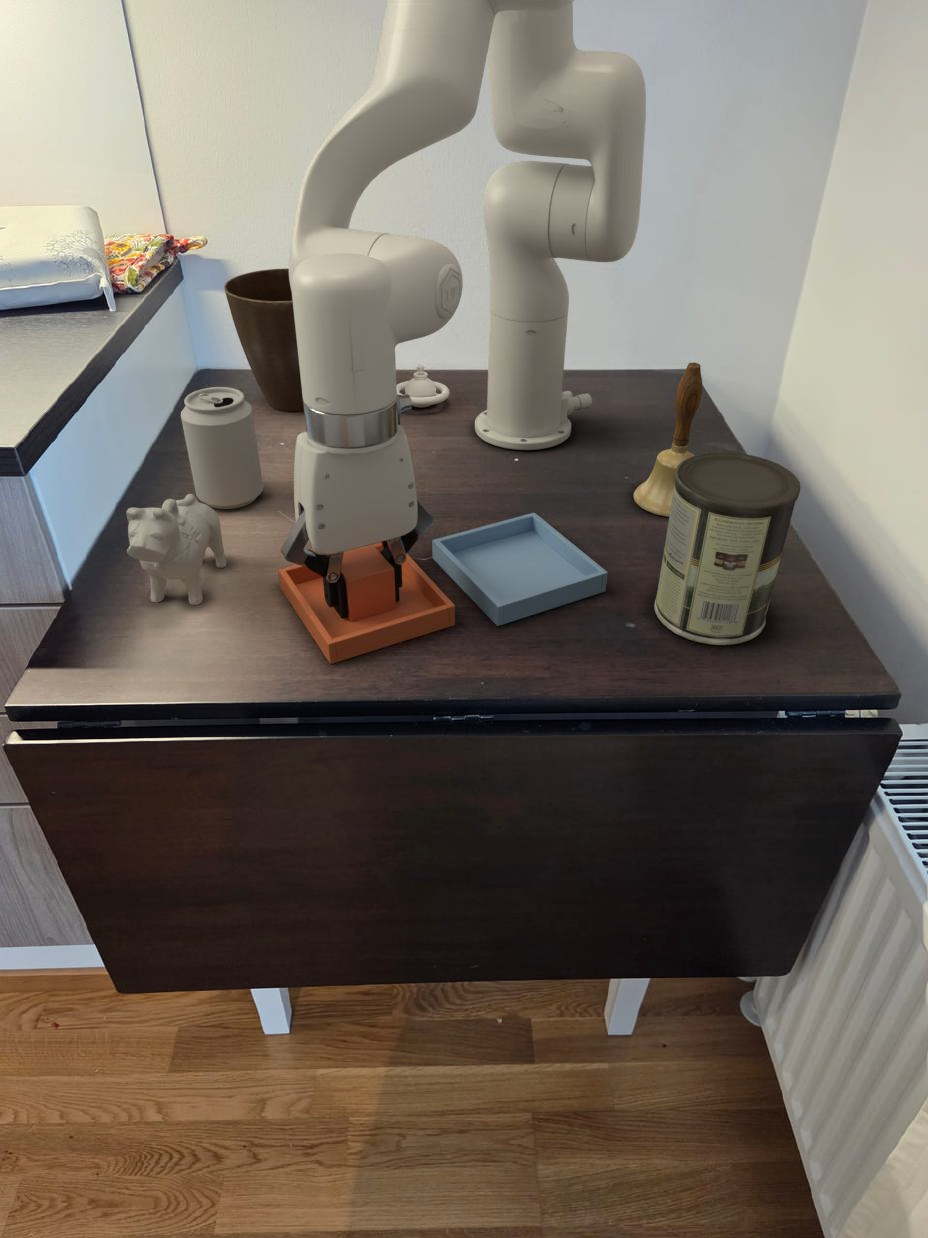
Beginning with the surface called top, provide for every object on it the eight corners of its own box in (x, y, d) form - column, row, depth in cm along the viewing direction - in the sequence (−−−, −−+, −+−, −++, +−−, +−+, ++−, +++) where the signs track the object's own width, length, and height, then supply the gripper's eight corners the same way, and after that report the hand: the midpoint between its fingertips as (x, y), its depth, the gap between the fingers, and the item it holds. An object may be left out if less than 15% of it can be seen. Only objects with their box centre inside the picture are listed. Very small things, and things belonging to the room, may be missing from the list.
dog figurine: (130, 626, 80) (102, 524, 73) (183, 551, 90) (162, 457, 83) (186, 630, 79) (162, 528, 73) (233, 555, 89) (215, 460, 83)
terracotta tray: (394, 557, 89) (393, 538, 88) (455, 625, 80) (455, 605, 79) (280, 588, 85) (277, 569, 83) (330, 664, 75) (328, 644, 74)
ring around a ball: (382, 410, 119) (437, 418, 117) (381, 369, 116) (437, 377, 114) (404, 391, 125) (457, 399, 123) (404, 352, 122) (457, 359, 120)
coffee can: (728, 575, 87) (757, 444, 79) (787, 635, 79) (826, 497, 71) (634, 591, 85) (654, 458, 76) (685, 655, 77) (713, 514, 68)
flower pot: (364, 387, 126) (356, 272, 117) (328, 428, 115) (316, 304, 105) (267, 377, 129) (253, 264, 120) (223, 417, 117) (203, 295, 108)
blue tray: (533, 530, 94) (534, 512, 93) (605, 591, 85) (608, 572, 83) (432, 558, 89) (431, 539, 88) (497, 626, 80) (498, 607, 78)
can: (248, 516, 96) (232, 412, 89) (185, 508, 97) (164, 406, 90) (274, 484, 102) (260, 385, 95) (214, 478, 103) (196, 380, 96)
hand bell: (720, 499, 100) (748, 362, 90) (682, 526, 95) (708, 384, 85) (658, 476, 104) (678, 344, 95) (619, 501, 99) (636, 363, 90)
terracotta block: (376, 585, 84) (374, 545, 82) (396, 609, 81) (394, 568, 79) (333, 597, 83) (329, 557, 80) (351, 622, 79) (348, 581, 77)
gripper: (423, 386, 77) (427, 561, 88) (236, 421, 70) (265, 606, 81) (464, 416, 72) (462, 598, 82) (266, 457, 65) (292, 650, 76)
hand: (364, 600), depth 82 cm, fingers closed on terracotta block, 4 cm apart
